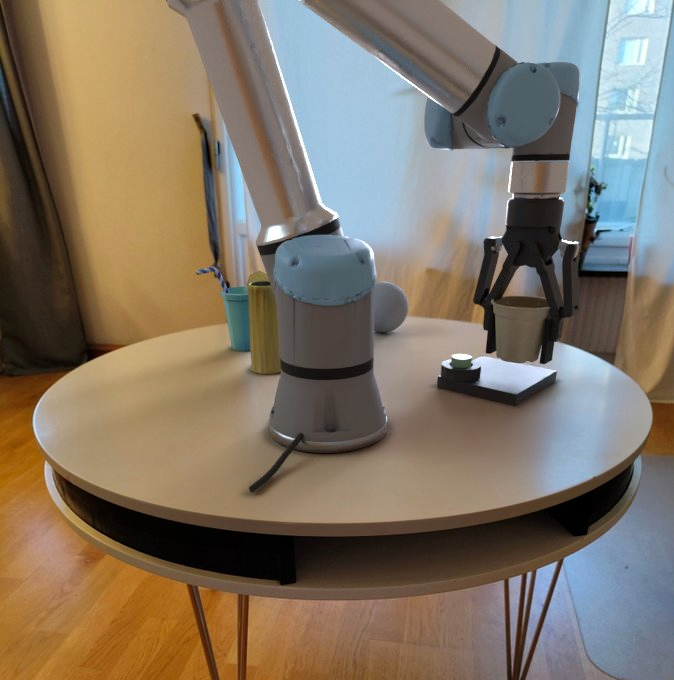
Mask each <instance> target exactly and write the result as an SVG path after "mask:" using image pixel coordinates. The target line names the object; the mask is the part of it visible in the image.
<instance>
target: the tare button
mask: <svg viewBox="0 0 674 680" xmlns="http://www.w3.org/2000/svg"><path fill="white" fill-rule="evenodd" d="M451 359H452V360H451V366H452V367H457V368H468V367H471V362H472V360H473V357H472V355H469V354H467V353H455V354H452V355H451Z"/></svg>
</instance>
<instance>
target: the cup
mask: <svg viewBox="0 0 674 680" xmlns="http://www.w3.org/2000/svg"><path fill="white" fill-rule="evenodd" d="M209 273H214V274H215V276H216V277H217V279H218V282H219V284H220V286H221V288H222V290H220V297H221V298H222V300H223V307H224V310H225V311H224V312H225V317H226V323H227V329H228V332H229V338H230V344H231V348H232V349H233V350H234V351H237V352H249V351H250V318H249V301H248V283H250V282H254V281H263V280H269V278H268V276H267V273H266V271H264V270H261V269H260V270H257V271H255V272H253V273H251V274H249V276H248V279H247V282H246V286H235V287H227V285H226V281H225V280H224V277H223V276H222V273H221V271H220V270H219V269H218V268H216V267H215V266H209V267H205V268H200V269H196V270H195V274H196V275H197V276H199V275H204V274H209ZM250 352H251V351H250Z"/></svg>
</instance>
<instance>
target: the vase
mask: <svg viewBox="0 0 674 680" xmlns="http://www.w3.org/2000/svg"><path fill="white" fill-rule="evenodd" d="M248 301H249V318H250V358H251V359H250V361H251V364H250V370H251V371H252V372H253V373H255V374H260V375H275V374H281V366H280V349H279V331H278V314H277V305H276V300H275V296H274V293H273V291H272V288H271V284H270V281H269V280H263V281H254V282H250V283H248Z"/></svg>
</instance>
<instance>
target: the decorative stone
mask: <svg viewBox="0 0 674 680" xmlns="http://www.w3.org/2000/svg"><path fill="white" fill-rule="evenodd" d="M408 313H409V300H408V297H407V295H406V293H405V292H404V290H403V289H402V288H401V287H400V286H398V285H397V284H395V283H393V282H390V281H378V282H376V283H375V305H374V332H376V333H384V334H385V333H390V332H393V331H395V330H397V329H398V328H400V327H401V326H402V325H403V323H404V322H405V320H406V318H407V316H408Z"/></svg>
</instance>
